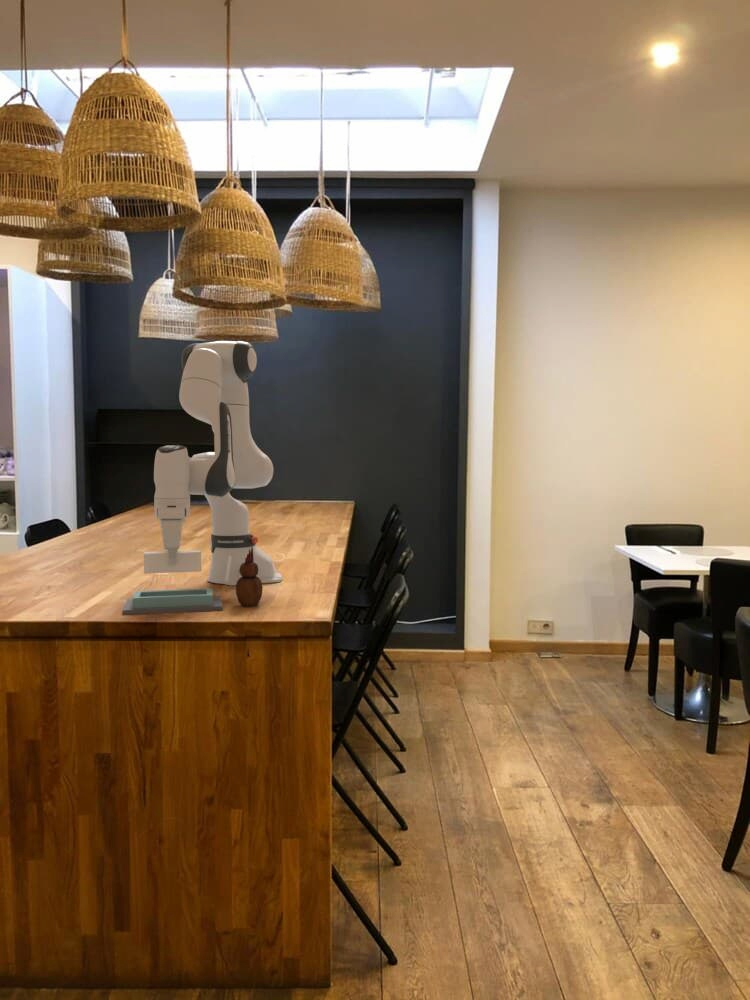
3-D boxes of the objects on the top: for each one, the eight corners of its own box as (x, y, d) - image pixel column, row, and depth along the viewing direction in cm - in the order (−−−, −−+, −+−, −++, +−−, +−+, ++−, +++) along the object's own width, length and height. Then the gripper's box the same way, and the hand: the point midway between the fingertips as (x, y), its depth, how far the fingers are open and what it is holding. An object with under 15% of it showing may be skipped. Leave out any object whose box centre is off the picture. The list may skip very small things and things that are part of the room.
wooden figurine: (251, 601, 202) (251, 545, 201) (266, 604, 199) (266, 547, 197) (231, 605, 197) (231, 548, 196) (246, 608, 193) (246, 550, 192)
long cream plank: (200, 569, 198) (200, 550, 198) (201, 571, 195) (201, 552, 194) (144, 571, 194) (144, 551, 194) (144, 573, 191) (143, 553, 191)
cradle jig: (220, 599, 204) (220, 586, 204) (222, 610, 192) (222, 596, 192) (127, 603, 199) (127, 589, 199) (122, 614, 186) (122, 600, 186)
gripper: (161, 506, 203) (162, 557, 204) (157, 512, 183) (158, 569, 184) (185, 505, 204) (186, 556, 205) (184, 512, 184) (185, 569, 185)
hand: (173, 563), depth 194 cm, fingers closed on long cream plank, 4 cm apart
